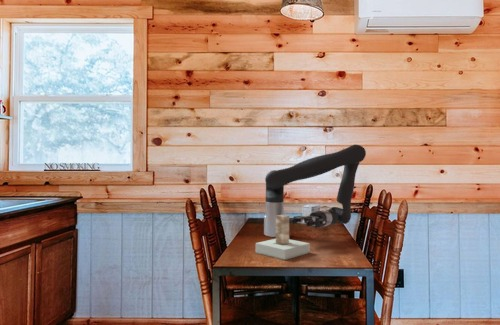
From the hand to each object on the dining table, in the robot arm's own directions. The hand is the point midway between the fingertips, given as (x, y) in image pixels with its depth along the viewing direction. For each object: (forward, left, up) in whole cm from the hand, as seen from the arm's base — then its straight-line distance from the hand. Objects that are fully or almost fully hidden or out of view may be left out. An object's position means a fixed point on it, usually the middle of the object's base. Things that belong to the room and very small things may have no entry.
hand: (299, 222), depth 164 cm
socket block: (0, -11, -11) cm, 16 cm away
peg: (0, -11, -11) cm, 16 cm away
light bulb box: (-36, +58, -12) cm, 69 cm away
